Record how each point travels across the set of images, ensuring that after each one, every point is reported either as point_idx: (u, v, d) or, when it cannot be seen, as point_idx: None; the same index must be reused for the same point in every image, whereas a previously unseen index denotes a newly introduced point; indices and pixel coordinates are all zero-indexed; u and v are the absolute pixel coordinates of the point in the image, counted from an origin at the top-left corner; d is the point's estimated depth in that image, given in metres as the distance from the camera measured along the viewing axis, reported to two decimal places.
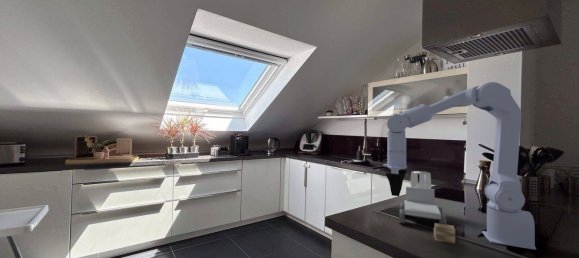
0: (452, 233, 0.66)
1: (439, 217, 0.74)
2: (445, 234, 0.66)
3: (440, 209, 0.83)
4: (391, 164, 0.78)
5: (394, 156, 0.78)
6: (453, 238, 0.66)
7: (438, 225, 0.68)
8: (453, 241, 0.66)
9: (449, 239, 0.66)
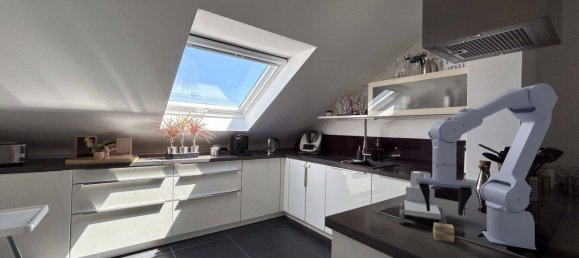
0: (451, 232, 0.66)
1: (439, 217, 0.74)
2: (444, 233, 0.67)
3: (440, 209, 0.83)
4: None
5: (432, 168, 0.70)
6: (452, 237, 0.66)
7: (437, 224, 0.69)
8: (452, 240, 0.66)
9: (448, 238, 0.67)
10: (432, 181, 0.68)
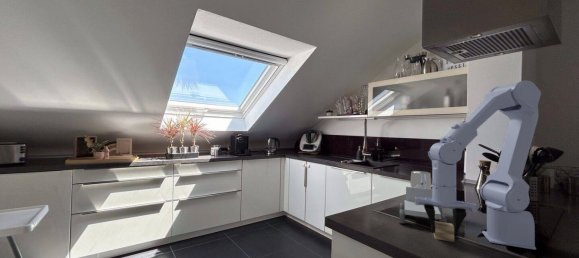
0: (451, 231, 0.67)
1: (439, 217, 0.74)
2: (444, 232, 0.68)
3: (440, 209, 0.83)
4: None
5: (432, 188, 0.70)
6: (452, 236, 0.67)
7: (437, 223, 0.69)
8: (452, 239, 0.67)
9: (448, 236, 0.67)
10: (432, 202, 0.68)
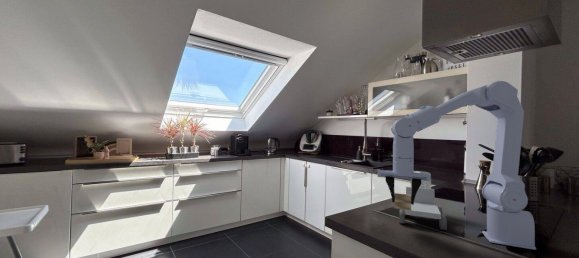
0: (408, 200, 0.72)
1: (439, 217, 0.74)
2: (402, 201, 0.73)
3: (440, 209, 0.83)
4: None
5: None
6: (409, 205, 0.72)
7: (397, 194, 0.75)
8: (409, 207, 0.72)
9: (406, 205, 0.73)
10: (391, 173, 0.74)
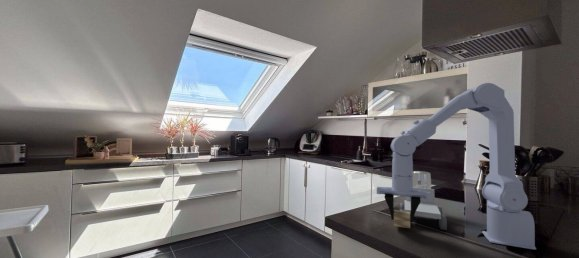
0: (407, 218, 0.72)
1: (439, 217, 0.74)
2: (402, 219, 0.73)
3: (440, 209, 0.83)
4: None
5: None
6: (408, 223, 0.72)
7: (396, 211, 0.75)
8: (408, 225, 0.72)
9: (405, 223, 0.73)
10: (391, 191, 0.74)
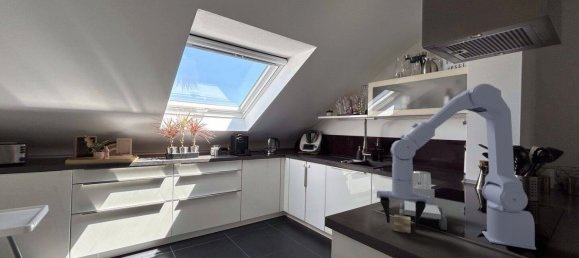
0: (408, 224, 0.72)
1: (439, 217, 0.74)
2: (402, 224, 0.73)
3: (440, 209, 0.83)
4: None
5: None
6: (409, 228, 0.72)
7: (396, 217, 0.75)
8: (409, 231, 0.72)
9: (405, 229, 0.73)
10: (391, 195, 0.74)
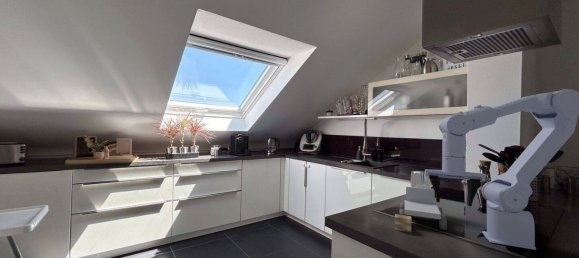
0: (408, 223, 0.73)
1: (439, 217, 0.74)
2: (403, 224, 0.74)
3: (440, 209, 0.83)
4: None
5: (442, 160, 0.72)
6: (409, 227, 0.73)
7: (397, 216, 0.75)
8: (409, 230, 0.73)
9: (406, 228, 0.73)
10: (442, 173, 0.70)
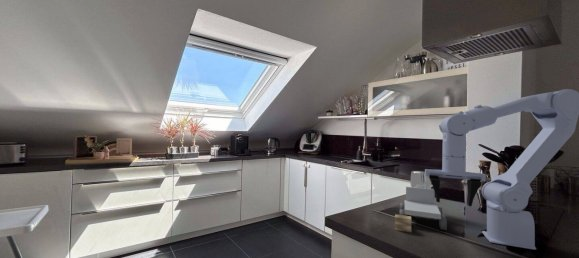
0: (409, 223, 0.73)
1: (439, 217, 0.74)
2: (403, 224, 0.74)
3: (440, 209, 0.83)
4: None
5: (442, 160, 0.72)
6: (409, 227, 0.73)
7: (397, 216, 0.75)
8: (409, 230, 0.73)
9: (406, 228, 0.73)
10: (442, 173, 0.70)
